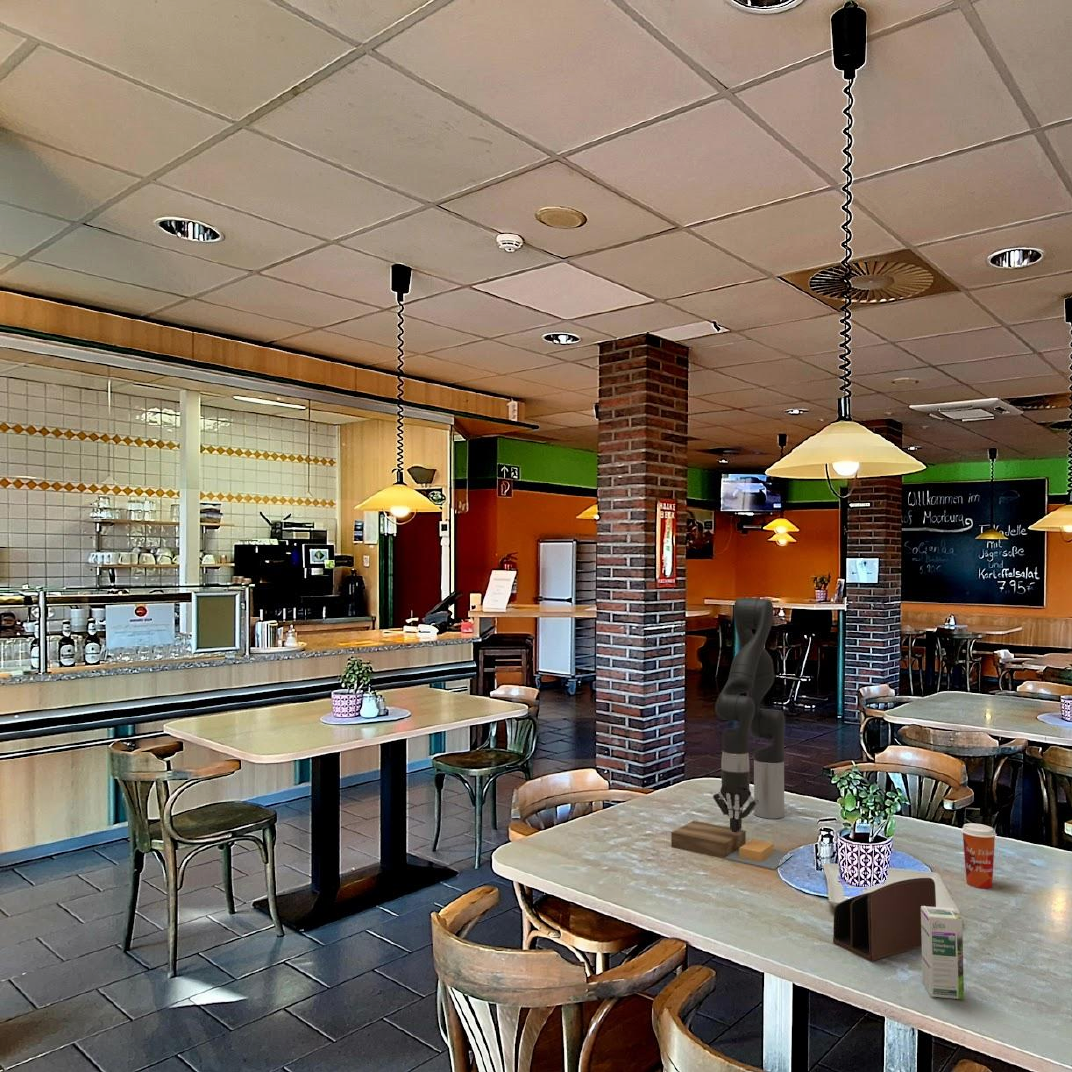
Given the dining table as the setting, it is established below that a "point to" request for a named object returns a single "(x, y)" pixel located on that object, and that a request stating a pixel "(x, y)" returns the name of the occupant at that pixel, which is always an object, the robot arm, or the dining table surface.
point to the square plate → (893, 876)
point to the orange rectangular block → (756, 850)
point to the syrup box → (942, 952)
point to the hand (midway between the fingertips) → (735, 831)
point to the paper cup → (979, 854)
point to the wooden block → (707, 839)
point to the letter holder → (884, 919)
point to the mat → (767, 863)
